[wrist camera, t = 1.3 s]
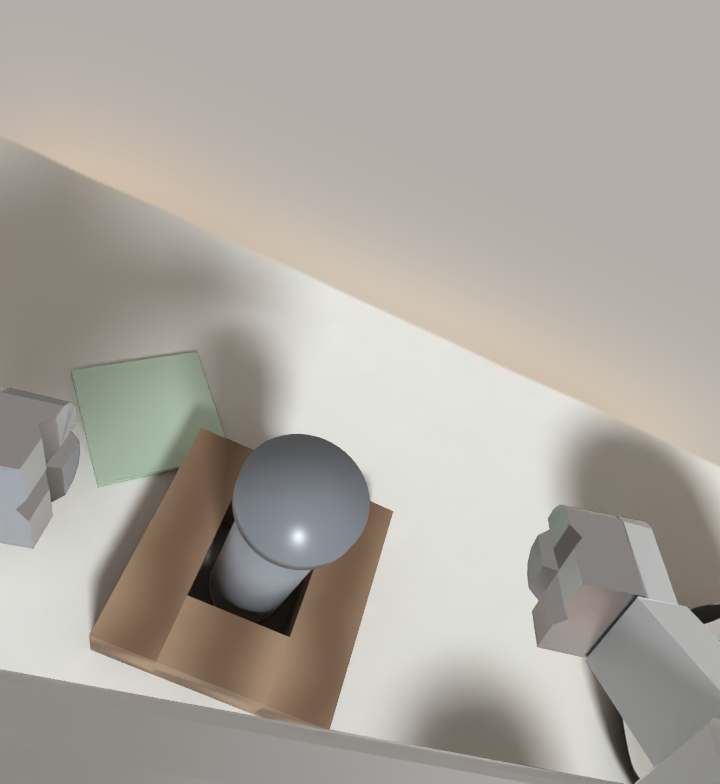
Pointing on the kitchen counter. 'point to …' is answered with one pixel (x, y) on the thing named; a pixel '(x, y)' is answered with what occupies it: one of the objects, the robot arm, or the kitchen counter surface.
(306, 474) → the grey capped peg
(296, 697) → the socket block
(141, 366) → the mat
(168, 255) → the kitchen counter surface
